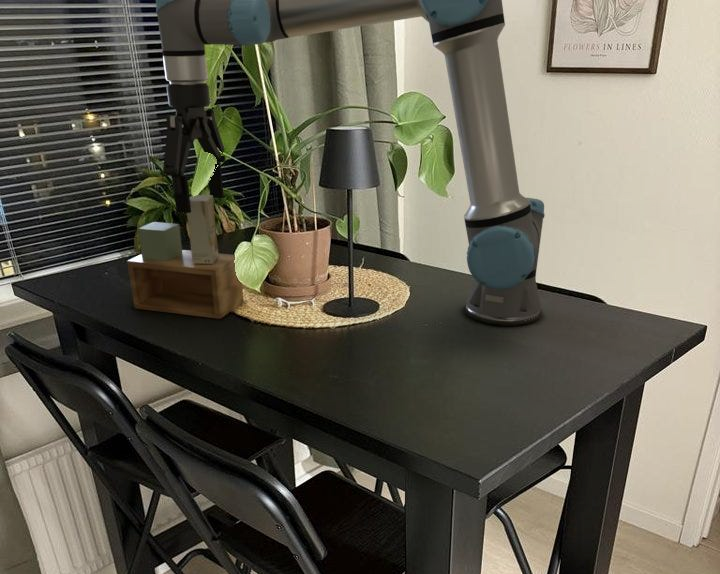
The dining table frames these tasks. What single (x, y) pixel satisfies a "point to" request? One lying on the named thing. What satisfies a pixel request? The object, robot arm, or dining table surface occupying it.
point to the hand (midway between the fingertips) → (201, 204)
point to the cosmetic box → (202, 230)
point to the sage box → (160, 241)
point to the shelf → (186, 285)
